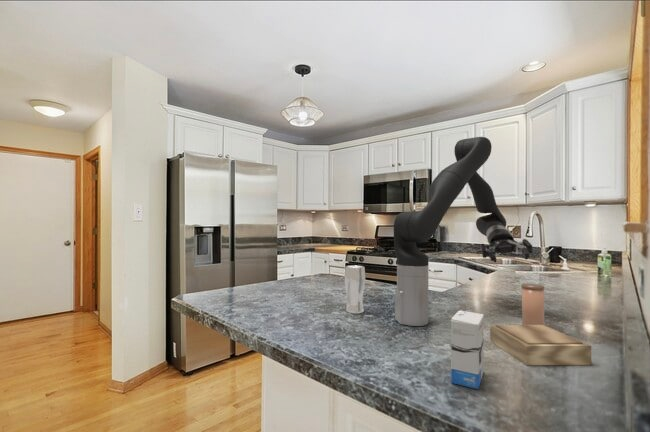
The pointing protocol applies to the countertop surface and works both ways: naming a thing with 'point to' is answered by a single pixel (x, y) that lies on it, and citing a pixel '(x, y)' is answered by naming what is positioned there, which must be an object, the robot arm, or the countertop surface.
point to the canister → (532, 304)
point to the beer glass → (354, 288)
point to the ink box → (467, 349)
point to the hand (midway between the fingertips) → (510, 258)
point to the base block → (540, 345)
